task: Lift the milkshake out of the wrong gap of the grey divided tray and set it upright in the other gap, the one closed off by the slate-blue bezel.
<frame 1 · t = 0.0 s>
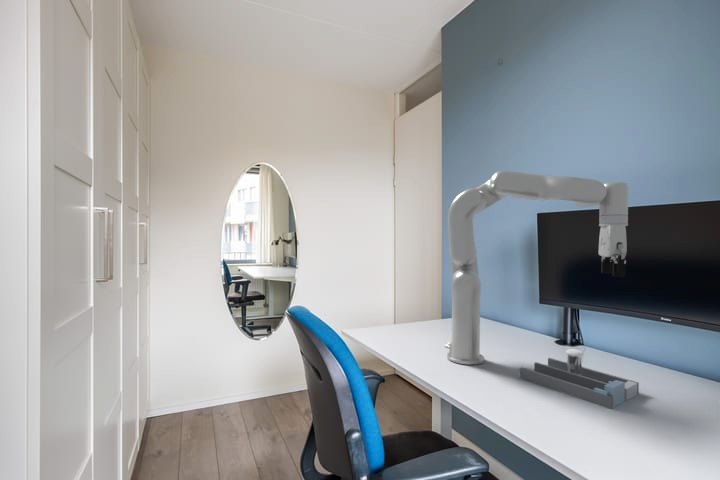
hand: (612, 275, 117), 31 cm above the table, tool pointing down, fingers open, 9 cm apart
grey divided tray: (576, 384, 107), on the table
milkshake: (575, 380, 111), resting in grey divided tray
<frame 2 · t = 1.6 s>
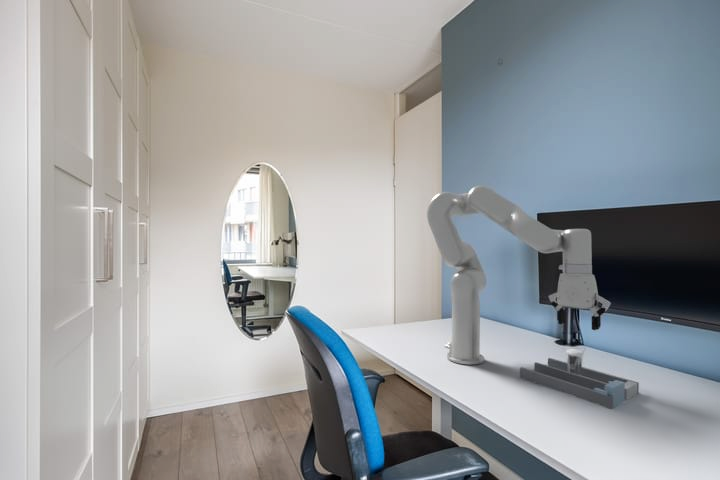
hand: (578, 326, 111), 16 cm above the table, tool pointing down, fingers open, 9 cm apart
nothing on the table moved.
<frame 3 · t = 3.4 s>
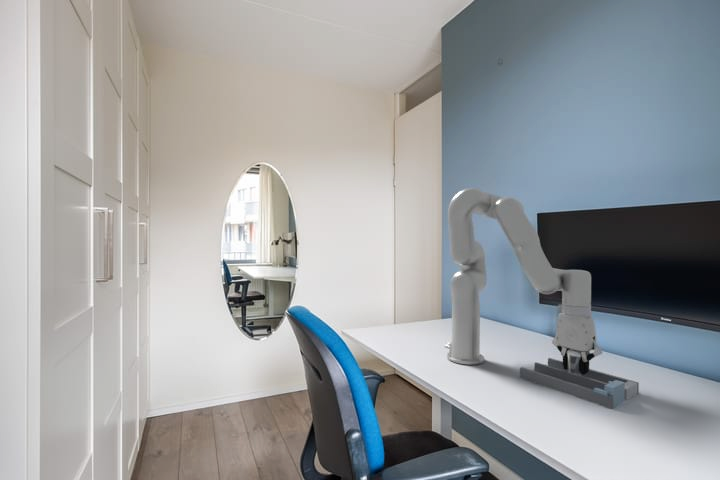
hand: (575, 370, 111), 3 cm above the table, tool pointing down, fingers closed on milkshake, 4 cm apart
milkshake: (575, 380, 111), resting in grey divided tray, touching gripper
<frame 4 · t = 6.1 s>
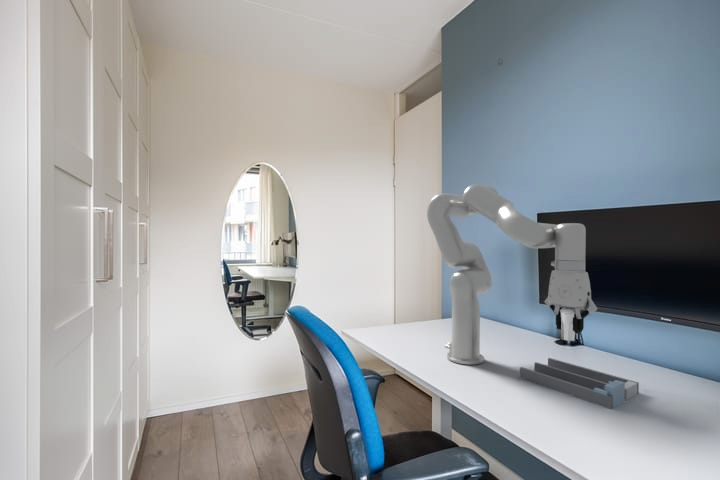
hand: (569, 329, 105), 17 cm above the table, tool pointing down, fingers closed on milkshake, 4 cm apart
milkshake: (569, 340, 105), point 14 cm above the table, touching gripper
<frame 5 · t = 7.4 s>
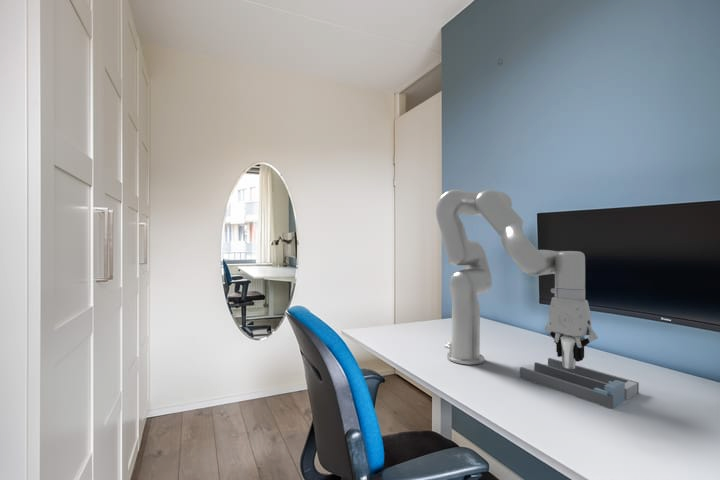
hand: (569, 357, 105), 9 cm above the table, tool pointing down, fingers closed on milkshake, 4 cm apart
milkshake: (570, 368, 105), point 6 cm above the table, touching gripper
when the fingers open (4 cm above the table, at t = 8.7 s): milkshake stays where it is, resting in grey divided tray.
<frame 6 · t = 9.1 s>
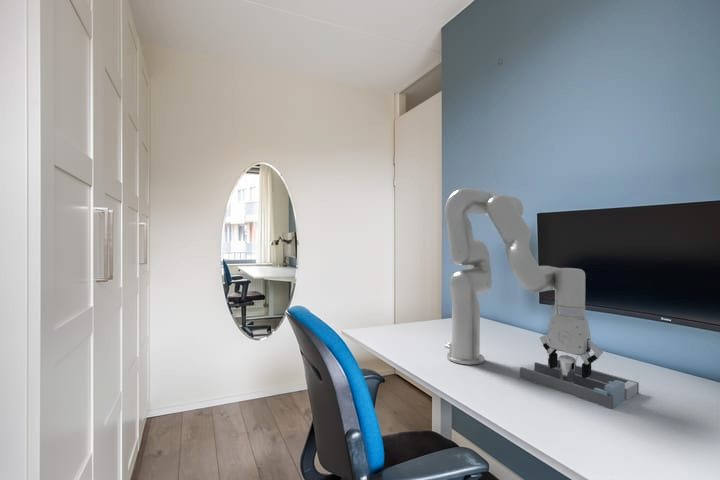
hand: (569, 371, 105), 5 cm above the table, tool pointing down, fingers open, 8 cm apart
milkshake: (568, 388, 105), resting in grey divided tray
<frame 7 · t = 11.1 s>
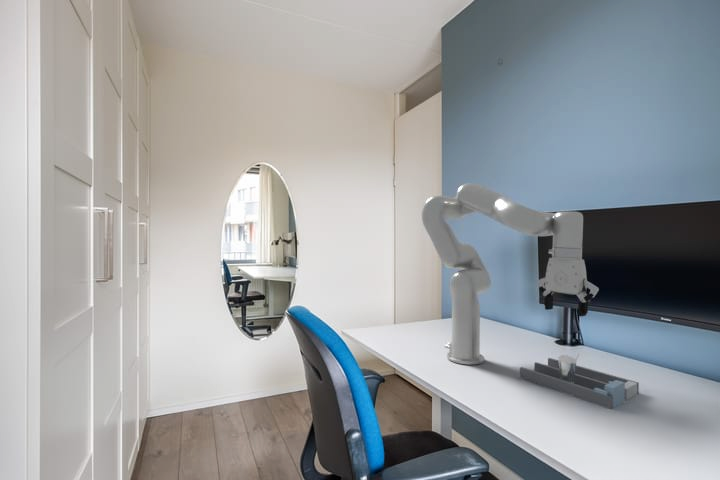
hand: (564, 312, 107), 21 cm above the table, tool pointing down, fingers open, 9 cm apart
nothing on the table moved.
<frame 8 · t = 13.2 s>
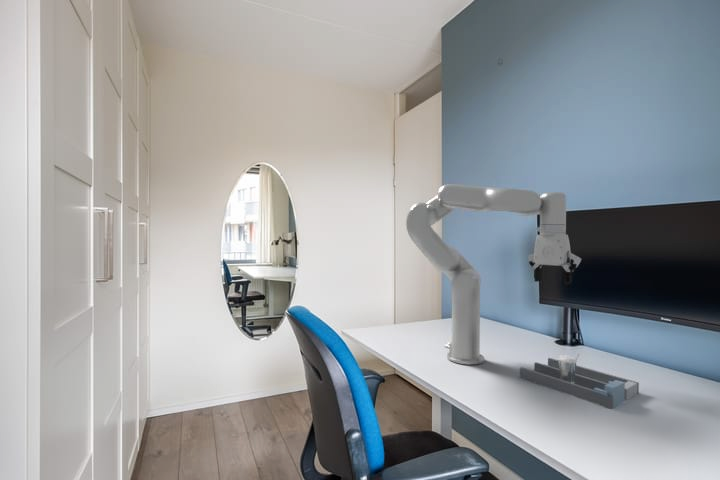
hand: (552, 282, 120), 28 cm above the table, tool pointing down, fingers open, 9 cm apart
nothing on the table moved.
at the end: milkshake inside the target area on the grey divided tray (0.1 cm from its centre), point 0.0 cm above the grey divided tray's base; milkshake tilted 0°; the gripper is holding nothing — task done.
